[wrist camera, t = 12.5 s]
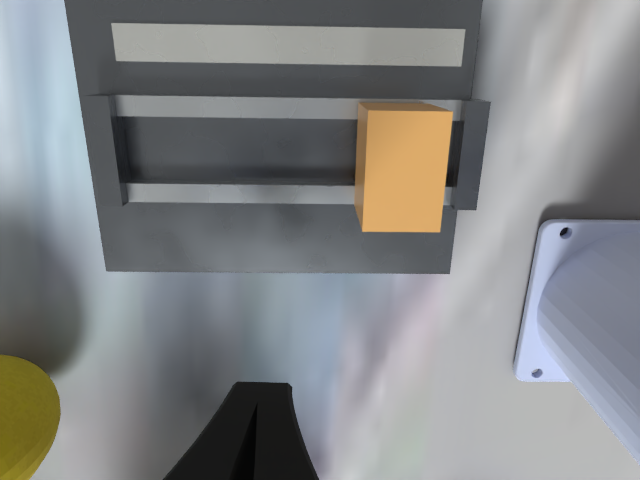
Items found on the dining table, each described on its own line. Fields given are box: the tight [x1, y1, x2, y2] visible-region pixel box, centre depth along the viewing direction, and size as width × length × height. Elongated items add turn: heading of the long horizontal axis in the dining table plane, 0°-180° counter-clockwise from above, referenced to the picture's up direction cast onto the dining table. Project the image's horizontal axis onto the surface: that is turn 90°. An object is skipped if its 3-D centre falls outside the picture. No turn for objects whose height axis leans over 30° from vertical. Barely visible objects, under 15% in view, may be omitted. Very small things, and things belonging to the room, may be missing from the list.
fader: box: [354, 103, 453, 232], centre depth 16 cm, size 2×4×4 cm, turn 179°
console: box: [64, 0, 491, 274], centre depth 16 cm, size 14×20×3 cm
